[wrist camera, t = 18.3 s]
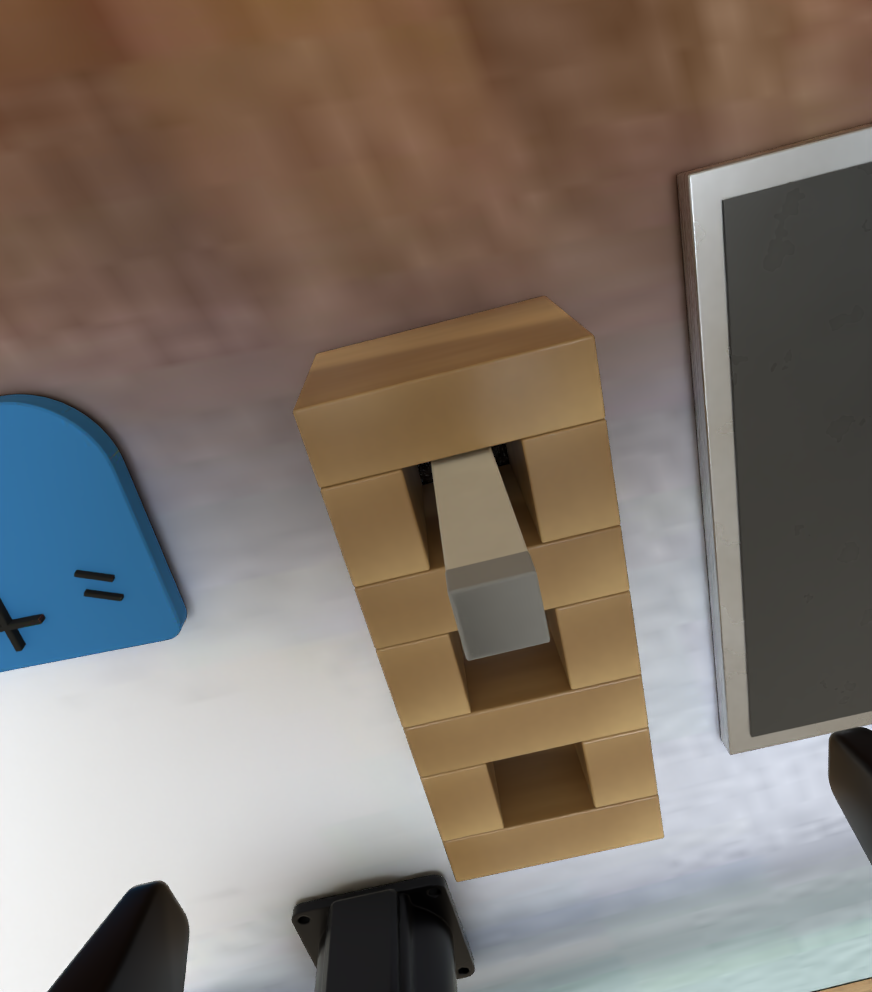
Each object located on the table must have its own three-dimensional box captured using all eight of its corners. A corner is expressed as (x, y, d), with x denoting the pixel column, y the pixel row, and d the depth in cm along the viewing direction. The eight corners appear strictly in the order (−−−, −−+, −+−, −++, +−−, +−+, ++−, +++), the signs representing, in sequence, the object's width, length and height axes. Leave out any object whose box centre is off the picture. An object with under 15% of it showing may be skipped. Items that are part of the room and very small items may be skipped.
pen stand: (616, 719, 25) (665, 838, 21) (444, 758, 26) (456, 883, 21) (545, 294, 19) (594, 334, 14) (315, 353, 19) (291, 410, 14)
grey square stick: (480, 432, 20) (551, 642, 11) (433, 444, 20) (467, 662, 11) (469, 387, 20) (536, 571, 11) (421, 399, 20) (447, 592, 11)
